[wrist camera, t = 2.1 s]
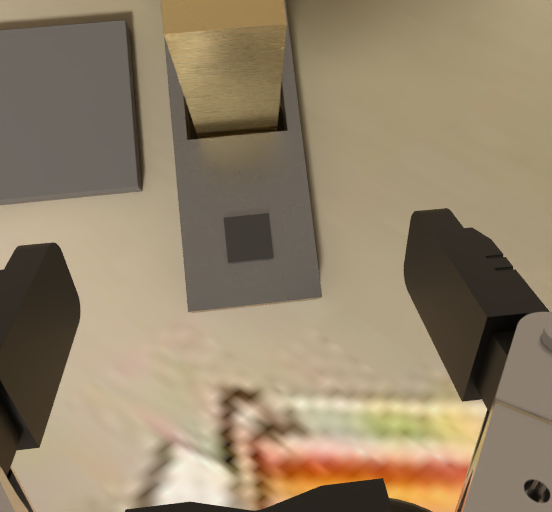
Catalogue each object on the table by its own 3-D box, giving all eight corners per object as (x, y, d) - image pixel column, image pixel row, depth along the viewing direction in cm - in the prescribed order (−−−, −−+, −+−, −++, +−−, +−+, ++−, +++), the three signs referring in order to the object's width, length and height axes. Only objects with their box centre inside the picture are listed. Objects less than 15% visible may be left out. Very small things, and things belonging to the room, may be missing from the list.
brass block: (193, 71, 29) (154, -77, 18) (268, 65, 29) (273, -86, 19) (200, 143, 29) (163, 34, 18) (276, 136, 29) (286, 24, 18)
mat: (-41, 44, 29) (-51, 34, 28) (129, 30, 29) (125, 20, 28) (-36, 208, 28) (-47, 204, 27) (142, 191, 28) (137, 186, 27)
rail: (159, -74, 30) (151, -106, 28) (271, -82, 31) (272, -114, 28) (193, 312, 27) (187, 311, 25) (317, 299, 28) (322, 296, 25)
